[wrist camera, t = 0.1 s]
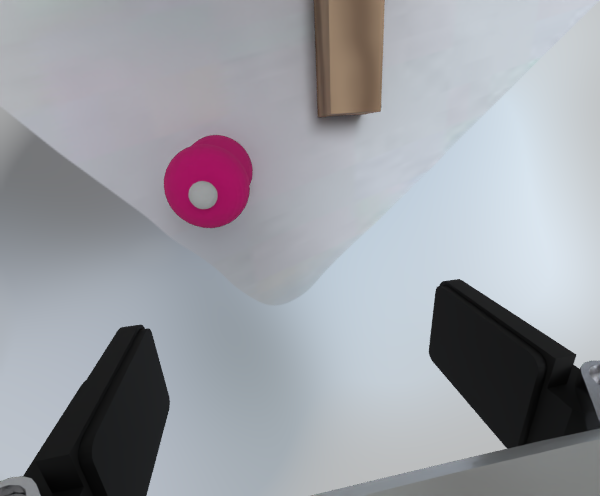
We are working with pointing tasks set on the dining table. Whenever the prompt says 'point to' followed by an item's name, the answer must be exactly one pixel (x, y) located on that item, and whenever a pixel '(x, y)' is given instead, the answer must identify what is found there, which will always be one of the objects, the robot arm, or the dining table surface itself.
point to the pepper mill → (209, 181)
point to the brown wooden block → (348, 56)
